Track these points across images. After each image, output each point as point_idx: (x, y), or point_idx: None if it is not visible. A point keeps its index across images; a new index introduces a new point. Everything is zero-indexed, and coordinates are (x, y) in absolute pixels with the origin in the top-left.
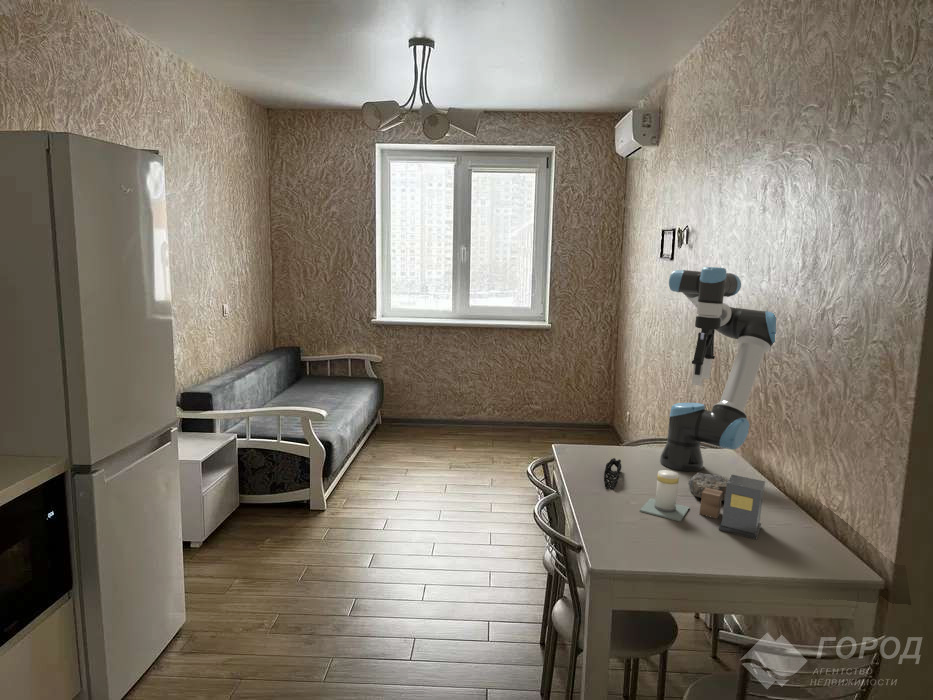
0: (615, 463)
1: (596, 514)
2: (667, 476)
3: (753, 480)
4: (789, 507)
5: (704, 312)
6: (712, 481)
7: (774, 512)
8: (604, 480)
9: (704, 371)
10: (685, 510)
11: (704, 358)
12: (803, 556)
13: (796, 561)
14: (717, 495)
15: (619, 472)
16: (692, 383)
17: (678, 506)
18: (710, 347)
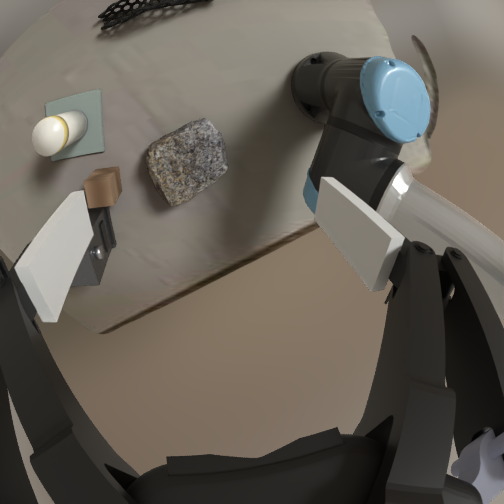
0: None
1: (7, 73)
2: (33, 143)
3: (87, 272)
4: (219, 257)
5: None
6: (179, 168)
7: (184, 246)
8: (106, 9)
9: (337, 209)
10: (86, 151)
11: (396, 246)
12: (80, 288)
13: None
14: (89, 205)
15: (132, 15)
16: (69, 196)
17: (94, 137)
18: (372, 390)
